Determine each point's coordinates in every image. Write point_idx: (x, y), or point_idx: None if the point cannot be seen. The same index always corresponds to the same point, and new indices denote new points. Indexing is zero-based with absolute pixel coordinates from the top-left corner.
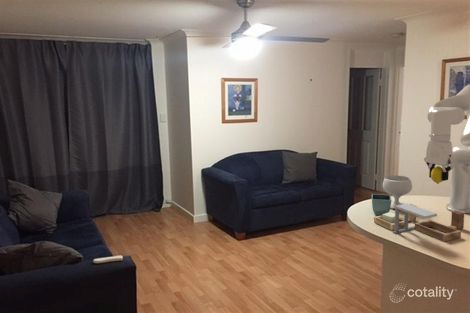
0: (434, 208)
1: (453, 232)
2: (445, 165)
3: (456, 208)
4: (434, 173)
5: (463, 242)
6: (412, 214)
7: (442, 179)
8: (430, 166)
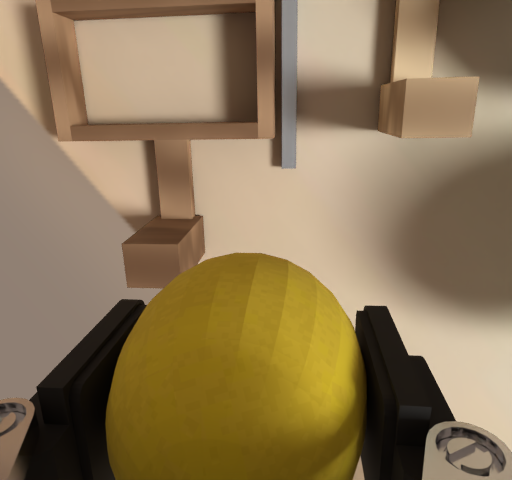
0: (459, 386)
1: (56, 84)
2: None
3: None
4: (209, 293)
5: (26, 96)
6: (390, 92)
7: (120, 304)
8: (440, 478)
